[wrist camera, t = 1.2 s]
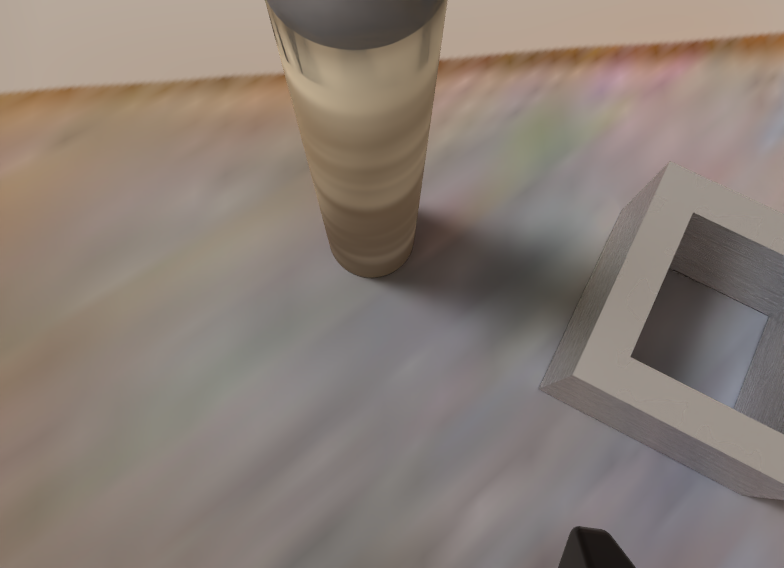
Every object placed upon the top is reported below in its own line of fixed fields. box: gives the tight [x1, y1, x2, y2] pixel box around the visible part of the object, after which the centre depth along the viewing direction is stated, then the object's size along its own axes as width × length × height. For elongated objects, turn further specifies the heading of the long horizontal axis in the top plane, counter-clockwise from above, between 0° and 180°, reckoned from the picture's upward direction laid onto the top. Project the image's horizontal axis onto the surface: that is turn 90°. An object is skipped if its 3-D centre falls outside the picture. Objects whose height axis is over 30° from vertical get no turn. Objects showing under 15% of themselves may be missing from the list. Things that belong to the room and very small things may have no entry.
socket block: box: [539, 161, 784, 500], centre depth 20 cm, size 7×7×4 cm
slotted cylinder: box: [265, 0, 447, 278], centre depth 16 cm, size 3×3×13 cm
